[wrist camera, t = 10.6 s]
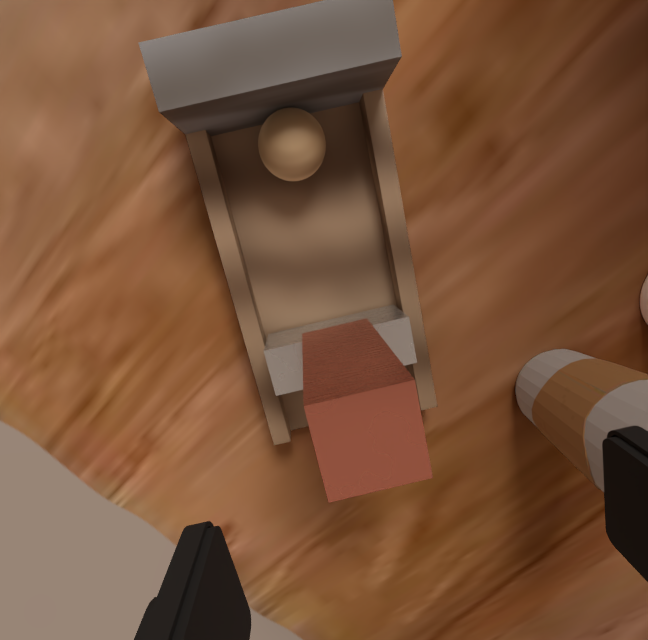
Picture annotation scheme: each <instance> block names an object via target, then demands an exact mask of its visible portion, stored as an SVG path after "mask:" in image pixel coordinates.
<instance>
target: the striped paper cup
mask: <svg viewBox="0 0 648 640" xmlns="http://www.w3.org/2000/svg"><path fill="white" fill-rule="evenodd" d="M640 310H641V314H642V316H643V319H644V320H645V322H646V323H647V325H648V275H647V277H646V279H645V281H644V283H643V286H642V289H641V294H640Z"/></svg>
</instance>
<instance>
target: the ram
mask: <svg viewBox="0 0 648 640" xmlns="http://www.w3.org/2000/svg"><path fill="white" fill-rule="evenodd" d="M264 355H265V358H266V362H267V366H268V369H269V373H270V376H271V380H272V384H273V387H274V391H275V395H276V396H278V395H282V394H286V393H291V392H295V391H299V390H303V402H304V410H305V414H306V418H307V421H308V425H309V429H310V433H311V437H312V441H313V444H314V448H315V452H316V456H317V460H318V464H319V468H320V471H321V475H322V479H323V483H324V487H325V491H326V495H327V498H328V502H329V503H330V502H334V501H338V500H342V499H346V498H351V497H355V496H359V495H363V494H367V493H371V492H376V491H380V490H384V489H388V488H392V487H397V486H401V485H405V484H409V483H413V482H417V481H422V480H426V479H430V478H433V476H432V470H431V465H430V459H429V454H428V448H427V443H426V437H425V432H424V427H423V421H422V416H421V410H420V405H419V399H418V394H417V388H416V383H415V379H414V378H413V377H412V376H411V374H410V373H409V372H408V370H407V369H406V368H405V367H404V366H405V365H409V364H413V363H417V359H416V353H415V348H414V342H413V337H412V331H411V326H410V320H409V316H407V315H406V314H405V313H404V312H402V311H401V310H400V309H398V308H397V307H396V306H395V305H390V306H385V307H381V308H377V309H373V310H368V311H364V312H360V313H356V314H351V315H347V316H343V317H339V318H334V319H330V320H326V321H322V322H317V323H313V324H309V325H305V326H300V327H296V328H292V329H288V330H283V331H279V332H275V333H271V334H268V338H267V341H266V344H265V348H264Z"/></svg>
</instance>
